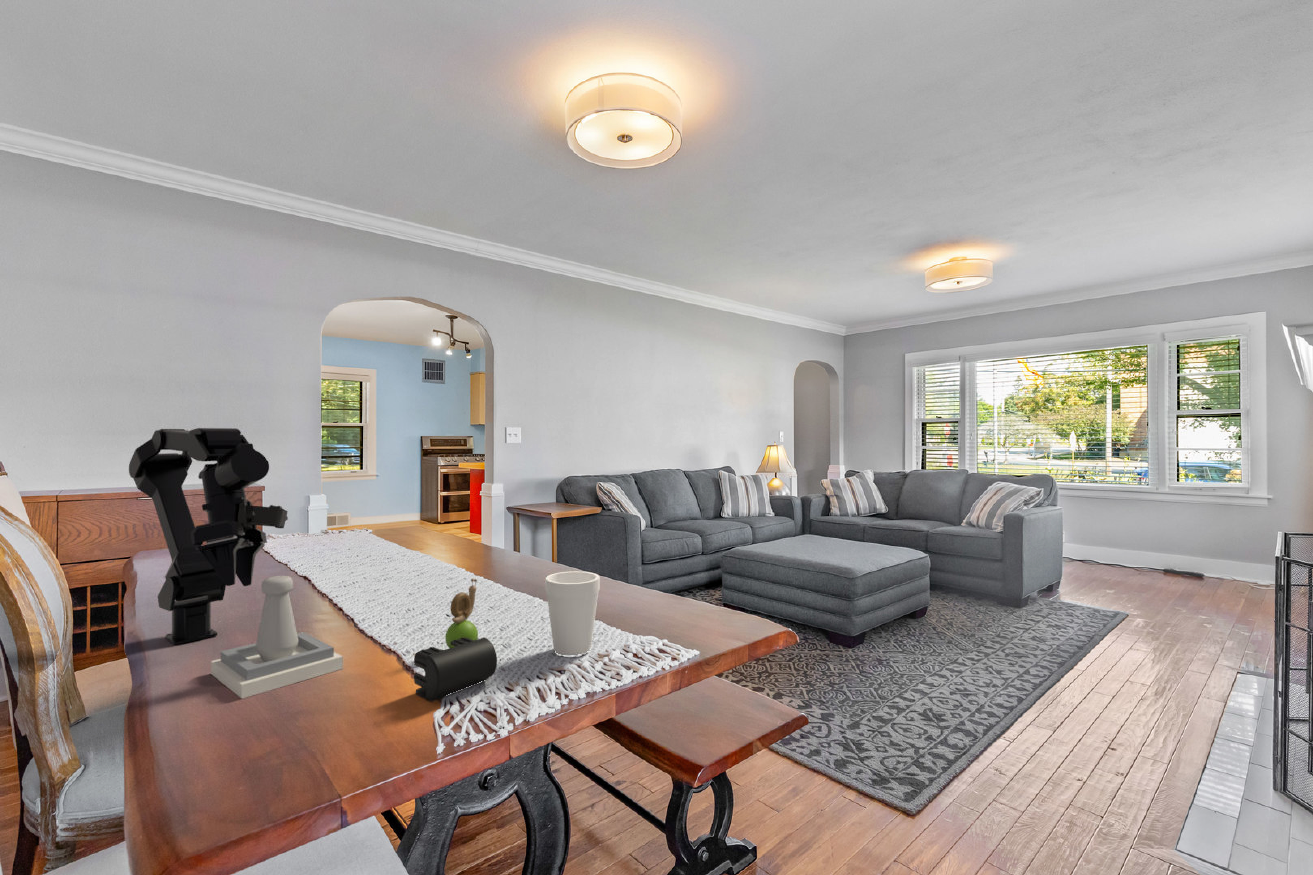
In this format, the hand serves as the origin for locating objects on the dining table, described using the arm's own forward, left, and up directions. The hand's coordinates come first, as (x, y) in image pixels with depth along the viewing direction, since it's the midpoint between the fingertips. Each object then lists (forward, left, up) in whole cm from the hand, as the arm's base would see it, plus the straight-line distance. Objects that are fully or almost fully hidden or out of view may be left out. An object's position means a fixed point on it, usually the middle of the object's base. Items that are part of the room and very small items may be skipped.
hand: (239, 585), depth 101 cm
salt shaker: (+12, +2, -10) cm, 16 cm away
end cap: (+40, +16, -12) cm, 45 cm away
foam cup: (+42, +38, -12) cm, 58 cm away
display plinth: (+12, +2, -12) cm, 17 cm away
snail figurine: (+27, +26, -12) cm, 39 cm away
